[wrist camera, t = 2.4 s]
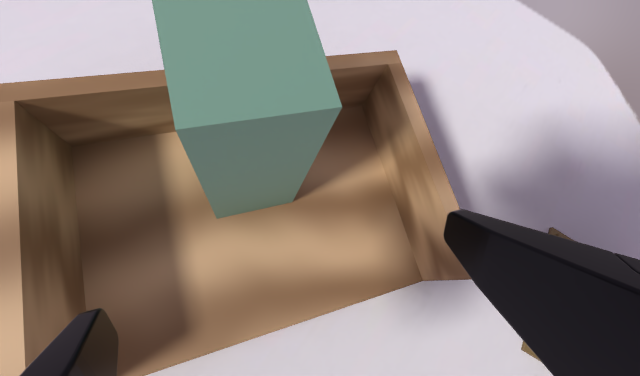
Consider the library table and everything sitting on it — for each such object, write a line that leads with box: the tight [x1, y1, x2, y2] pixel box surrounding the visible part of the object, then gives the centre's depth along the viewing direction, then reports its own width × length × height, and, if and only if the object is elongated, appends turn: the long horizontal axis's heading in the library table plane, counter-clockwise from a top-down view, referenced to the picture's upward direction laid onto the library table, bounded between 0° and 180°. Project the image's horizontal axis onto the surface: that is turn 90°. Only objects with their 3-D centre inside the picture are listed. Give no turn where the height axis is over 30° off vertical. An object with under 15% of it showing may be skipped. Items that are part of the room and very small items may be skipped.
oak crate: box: [0, 50, 471, 376], centre depth 18 cm, size 15×22×6 cm
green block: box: [152, 0, 342, 219], centre depth 15 cm, size 5×5×12 cm
